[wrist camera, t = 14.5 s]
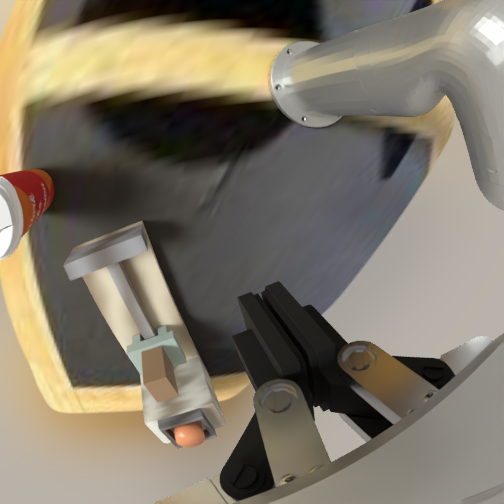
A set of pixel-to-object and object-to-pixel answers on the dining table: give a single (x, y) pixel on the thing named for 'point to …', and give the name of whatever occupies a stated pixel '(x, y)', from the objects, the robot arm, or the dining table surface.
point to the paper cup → (22, 205)
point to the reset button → (189, 434)
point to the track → (146, 294)
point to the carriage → (157, 362)
